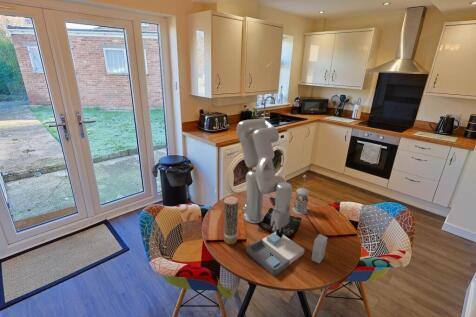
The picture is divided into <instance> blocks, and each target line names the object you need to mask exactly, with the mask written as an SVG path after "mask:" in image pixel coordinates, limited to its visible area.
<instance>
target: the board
mask: <svg viewBox="0 0 476 317" xmlns="http://www.w3.org/2000/svg"><path fill="white" fill-rule="evenodd" d="M273 233H274V234H276V231H273V232H272V233H271V234H273ZM268 236H269V235H267V236H266V237H264V238H261V239H262V245H264V246H265V247H266V248H268V249H269V250H270V251H271V252H273V253H274V254H275V255H277V256H278V257H279V258H280V259H282V260H283V261H286V260H287V259H289V260H290V261H289V265H291V264H292V263H294V262H295V261H296V260H298V259H299V258H301V257H302V256H303V255H304V253H305V248H304V247H302V246H300V244H298V243H297V242H295V241H293V240H292V239H290V238H288V237H287V236H286V235H284V234H283V237H282V238H281V242H280V243H278V244H276V245H275V246H273V245H272V244H270V243H269V242H268V241H267V237H268Z"/></svg>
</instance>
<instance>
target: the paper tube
mask: <svg viewBox="0 0 476 317" xmlns="http://www.w3.org/2000/svg"><path fill="white" fill-rule="evenodd" d="M223 200H224V202H223V203H224V204H223V205H224V207H223V208H224V209H223V210H224V211H223V213H224V214H223V218H224V220H223V222H224V223H223V232H224V233H223V241H224V243H226V245H234V244H236V243H237V242H238V218H239V217H238V215H239V214H238V213H239V198H238V197H236V196H232V195H231V196H227V197H225V198H224V199H223Z"/></svg>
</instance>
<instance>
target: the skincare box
mask: <svg viewBox="0 0 476 317" xmlns="http://www.w3.org/2000/svg"><path fill="white" fill-rule="evenodd" d="M327 244H328V237H327V236H325V235H323V234H321V233H319V234H317V236H316V238H314V241H313V246H312V253H311V261H313V262H315V263H318V264H321V262H322V261H323V259H324V257H325V253H326V247H327Z"/></svg>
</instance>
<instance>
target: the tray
mask: <svg viewBox="0 0 476 317" xmlns="http://www.w3.org/2000/svg"><path fill="white" fill-rule="evenodd" d="M262 239H263V238H259V239H257V240H255V241H254V242H252V243H251V244H248V245H247V246H246V247H245V248H246V249H245V250H246V254H248V255H249V256H250V257H251V258H252V259H253V260H254V261H256V262H257V263H258V264H259V265H260V266H261V267H262V268H263V269H265V270H266V271H267V272H268V273H269V274H270V275H272V276H273V277H276V276H277V275H279V274H280V273H281V272H283V271H284V270H285V269H287V268H288V267H289V266H290V264H289V261H290V260H289V259H287V260H286V261H283V260H282V259H280V258H279V257H278V256H277V255H275V254H274V253H273V252H271V251H270V250H269V249H268V248H266V247H265V246H264V245H262ZM270 253H271V254H272V255H273V257H275V258H276V259H277V260H278V261H279V262H280V265H279V266H277V267H276V268H274V267H273V266H271V265H270V264H269V263H268V262H267V261H265V260H266V259H268V258H269V257H271V256H272V255H271V254H270ZM270 255H271V256H270Z"/></svg>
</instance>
